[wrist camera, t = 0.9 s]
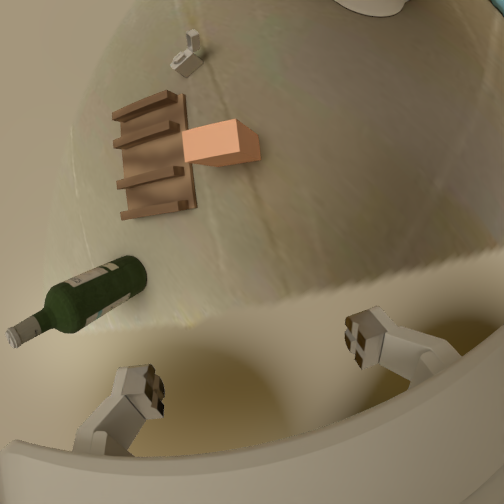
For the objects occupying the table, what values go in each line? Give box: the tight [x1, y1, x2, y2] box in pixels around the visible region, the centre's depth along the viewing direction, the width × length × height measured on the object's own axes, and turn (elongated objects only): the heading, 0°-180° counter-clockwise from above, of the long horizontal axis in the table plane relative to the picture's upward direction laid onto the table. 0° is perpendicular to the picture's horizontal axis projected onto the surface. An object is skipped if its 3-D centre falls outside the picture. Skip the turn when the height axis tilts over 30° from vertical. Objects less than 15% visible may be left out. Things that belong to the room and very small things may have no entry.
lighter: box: [170, 29, 203, 78], centre depth 34 cm, size 7×2×8 cm, turn 129°
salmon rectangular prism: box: [182, 119, 261, 167], centre depth 35 cm, size 4×7×11 cm, turn 97°
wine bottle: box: [5, 256, 147, 348], centre depth 37 cm, size 8×8×30 cm
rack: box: [112, 90, 197, 220], centre depth 41 cm, size 20×14×4 cm
